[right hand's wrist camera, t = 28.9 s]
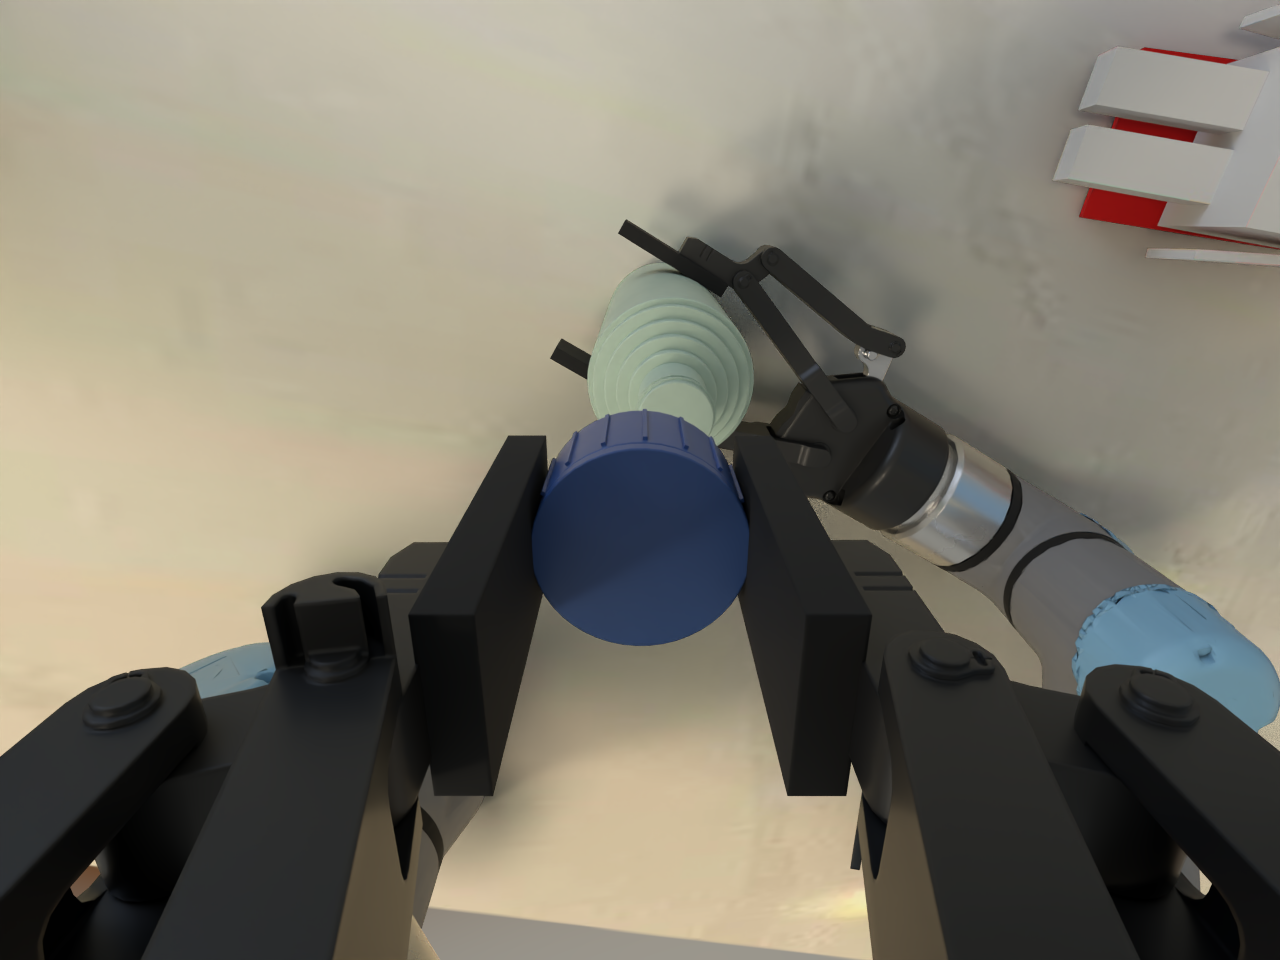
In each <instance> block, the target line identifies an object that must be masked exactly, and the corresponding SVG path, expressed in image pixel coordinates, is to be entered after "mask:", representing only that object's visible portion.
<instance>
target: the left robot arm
mask: <svg viewBox="0 0 1280 960" xmlns="http://www.w3.org/2000/svg"><path fill="white" fill-rule="evenodd" d="M618 234H620V235H622V236H623V237H625V238H626V239H628V240H630V241H631V242H633V243H634V244H636V245H638V246H639V247H641V248H642V249H644V250H646V251H647V252H649V253H651V254H652V255H654V256H655V257H657V258H659V259H660V260H662V261H663V262H665V263H667V264H668V265H670V266H671V267H673V268H675V269H676V270H678V271H680V272H681V273H683V274H684V275H686V276H688V277H689V278H691V279H692V280H694V281H696V282H697V283H699V284H700V285H702V286H704V287H705V288H707V289H709V290H710V291H712V292H713V293H715V294H717V295H718V296H720V297H721V296H722V295H723V293H724V292H725V290H726V288H727V287H728V286H730V287H732V288H733V289H734V291H735V292H736V293H737V295H738V296H739V297H740V299H741V300H742V301H743V303H744V304H745V306H746V307H747V308H748V310H749V311H750V312H751V314H752V315H753V316H754V318H755V319H756V321H757V322H758V323H759V325H760V326H761V327H762V329H763V330H764V331H765V333H766V334H767V336H768V337H769V338H770V340H771V341H772V342H773V344H774V345H775V346H776V348H777V349H778V351H779V352H780V353H781V355H782V356H783V357H784V359H785V360H786V361H787V363H788V364H789V366H790V367H791V369H792V370H793V371H794V373H795V374H796V375H797V377H798V378H799V380H800V381H801V382H802V384H800V383H798V384H797V386H796V387H795V389H794V390H793V392H792V393H791V396H790V399H789V401H788V404H787V406H786V407H785V408H784V409H782V410H781V411H780V412H779V413H778V414H777V415H776V416H775V418H774V419H773V421H772V422H771V424H767V423H761V422H753V423H749V422H743V421H741V423H740V424H739V425H738V427H737V428H736V429H735V431H734V432H733V433H732V434H731V435H730V436H729V437H728V438H727V439H726V440H724V441H723V442H722V443H721V444H719V445H718V446H717V447H718V448H722V449H728V450H734V436H772V437H773V438H774V440H775V442H776V444H777V445H778V447H779V449H780V451H781V453H782V454H783V456H784V458H785V460H786V461H787V463H788V465H789V467H790V469H791V470H792V472H793V474H794V476H795V478H796V479H797V481H798V483H799V485H800V486H801V488H802V490H803V492H804V494H805V495H806V497H807V498H816V499H820V500H822V501H824V502H826V503H827V504H829V505H831V506H833V507H834V508H836V509H838V510H839V511H841V512H843V513H845V514H846V515H848V516H850V517H852V518H853V519H855V520H857V521H859V522H860V523H862V524H864V525H866V526H867V527H869V528H871V529H873V530H880V532H881V533H882V535H883V536H885V537H887V538H888V539H890V540H892V541H894V542H895V543H897V544H899V545H901V546H902V547H904V548H906V549H908V550H910V551H911V552H913V553H915V554H917V555H918V556H920V557H922V558H924V559H926V560H927V561H929V562H931V563H933V564H935V565H936V566H938V567H940V568H942V569H944V570H945V571H947V572H949V573H951V574H952V575H954V576H956V577H957V578H959V579H961V580H962V581H964V582H965V583H967V584H969V585H970V586H972V587H974V588H975V589H977V590H978V591H980V592H981V593H983V594H984V595H985V596H987V597H988V598H989V599H990V600H991V601H992V602H993V603H994V604H995V605H996V606H997V607H998V609H999V610H1000V611H1001V612H1002V613H1003V614H1004V615H1005V617H1006V618H1007V619H1008V620H1009V621H1010V623H1011V624H1012V626H1013V627H1014V628H1015V629H1016V630H1017V632H1018V633H1019V634H1020V635H1021V636H1022V637H1023V639H1024V640H1025V641H1026V642H1027V643H1028V644H1029V646H1030V647H1031V648H1032V649H1033V650H1034V652H1035V653H1036V654H1037V655H1038V657H1039V659H1040V661H1041V665H1042V688H1044V689H1049V690H1054V691H1059V692H1064V693H1069V694H1074V695H1079V696H1080V695H1081V692H1082V688H1083V685H1084V681H1085V678H1086V676H1087V675H1088V674H1089V673H1090V672H1091V671H1093V670H1094V669H1095V668H1096V667H1101V666H1106V665H1112V664H1121V665H1133V666H1143V667H1148V668H1152V670H1155V669H1157V670H1160V671H1163V672H1166V673H1169V674H1171V675H1173V676H1174V677H1176V678H1178V679H1181V680H1183V681H1185V682H1188V683H1190V684H1192V685H1194V686H1196V687H1197V688H1199V689H1200V690H1202V691H1203V692H1205V693H1207V694H1208V695H1210V696H1211V697H1213V698H1214V699H1216V700H1217V701H1218V702H1220V703H1221V704H1222V705H1223V706H1225V707H1226V708H1227V709H1228V710H1230V711H1231V712H1232V713H1233V714H1234V715H1236V716H1237V717H1238V718H1239V719H1241V720H1242V721H1243V722H1244V723H1245V724H1247V725H1248V726H1249V727H1250V728H1252V729H1253V730H1254V731H1255V732H1256V733H1258V730H1259V729H1260V728H1262V727H1264V726H1266V725H1268V724H1270V723H1271V722H1273V721H1274V720H1275V718H1276V716H1277V713H1278V711H1279V707H1280V682H1279V678H1278V675H1277V673H1276V671H1275V668H1274V666H1273V665H1272V663H1271V661H1270V660H1269V659H1268V657H1267V656H1266V655H1265V654H1264V653H1263V652H1262V650H1261V649H1260V648H1258V647H1257V646H1256V645H1255V644H1253V643H1252V642H1251V641H1250V640H1248V639H1247V638H1246V637H1245V636H1243V635H1242V634H1241V633H1240V632H1238V631H1237V630H1236V629H1235V627H1234V626H1233V625H1232V624H1230V623H1229V622H1228V621H1227V620H1225V619H1224V618H1223V617H1222V616H1221V615H1220V614H1219V613H1218V611H1217V610H1216V609H1215V608H1214V607H1213V606H1212V605H1211V604H1209V603H1207V602H1206V601H1204V600H1203V599H1201V598H1200V597H1198V596H1197V595H1195V594H1193V593H1190V592H1187V591H1186V590H1184V589H1183V588H1181V587H1180V586H1178V585H1177V584H1175V583H1174V582H1172V581H1171V580H1170V579H1168V578H1167V577H1165V576H1164V575H1162V574H1161V573H1159V572H1158V571H1157V570H1155V569H1154V568H1152V567H1151V566H1149V565H1148V564H1147V563H1145V562H1144V561H1142V560H1141V559H1139V558H1138V557H1136V556H1135V555H1134V553H1133V552H1132V551H1131V549H1130V548H1129V547H1128V546H1127V545H1126V544H1125V543H1123V542H1122V541H1121V540H1119V539H1118V538H1116V536H1115V535H1114V534H1113V533H1112V532H1111V531H1109V530H1107V529H1106V528H1104V527H1103V526H1101V525H1100V524H1099V523H1098V522H1097V521H1095V520H1094V519H1092V518H1090V517H1088V516H1086V515H1085V514H1082V513H1078V512H1076V511H1075V510H1073V509H1072V508H1070V507H1068V506H1067V505H1065V504H1064V503H1062V502H1060V501H1059V500H1057V499H1055V498H1054V497H1052V496H1050V495H1049V494H1047V493H1045V492H1043V491H1042V490H1040V489H1038V488H1037V487H1035V486H1033V485H1031V484H1030V483H1028V482H1026V481H1025V480H1023V479H1021V478H1019V477H1018V476H1016V475H1014V474H1013V473H1012V472H1011V471H1009V470H1008V469H1006V468H1005V467H1004V466H1002V465H1001V464H999V463H998V462H996V461H994V460H993V459H991V458H990V457H988V456H986V455H985V454H983V453H982V452H980V451H978V450H977V449H975V448H974V447H972V446H970V445H969V444H967V443H966V442H964V441H962V440H961V439H959V438H958V437H956V436H954V435H951V434H946V433H945V431H944V430H943V429H942V428H941V427H940V426H938V425H937V424H935V423H933V422H932V421H930V420H929V419H927V418H925V417H924V416H922V415H921V414H919V413H917V412H916V411H914V410H913V409H911V408H909V407H908V406H906V405H905V404H903V403H901V402H900V401H898V400H897V399H895V398H893V397H892V396H891V395H890V393H889V391H888V389H887V387H886V385H885V384H884V382H883V379H884V377H885V375H886V372H887V370H888V368H889V366H890V364H891V361H892V359H893V358H896V357H899V356H901V355H902V354H903V352H904V351H905V348H906V345H905V342H904V340H903V339H902V338H900V337H898V336H896V335H894V334H892V333H890V332H889V331H887V330H884V329H881V328H878V327H875V326H872V325H869V324H867V323H866V322H864V321H863V320H862V319H861V318H860V317H858V316H857V315H856V314H855V313H854V312H853V311H851V310H850V309H849V308H848V307H847V306H846V305H844V304H843V303H842V302H841V301H840V300H839V299H837V298H836V297H835V296H834V295H833V294H832V293H830V292H829V291H828V290H827V289H826V288H824V287H823V286H822V285H821V284H820V283H819V282H817V281H816V280H815V279H814V278H813V277H812V276H810V275H809V274H808V273H807V272H806V271H805V270H803V269H802V268H801V267H800V266H799V265H798V264H796V263H795V262H794V261H793V260H792V259H790V258H789V257H788V256H787V255H786V254H785V253H783V252H782V251H781V250H780V249H778V248H776V247H773V246H770V245H763V246H761V247H759V248H758V249H757V251H756V252H755V253H754V254H753V255H751V256H750V257H749V258H748V259H746V260H745V261H742V262H734V261H732V260H730V259H729V258H727V257H725V256H724V255H722V254H721V253H719V252H718V251H716V250H714V249H713V248H711V247H710V246H708V245H706V244H705V243H703V242H702V241H700V240H699V239H697V238H693V237H686V239H685V241H684V243H683V244H682V246H681V248H680V249H679V251H676V250H675V249H673V248H671V247H670V246H668V245H667V244H665V243H663V242H662V241H660V240H659V239H657V238H655V237H654V236H652V235H651V234H649V233H647V232H646V231H644V230H643V229H641V228H639V227H638V226H636V225H635V224H633V223H631V222H630V221H628V220H627V219H626V220H625V222H624V224H623V225H622V227H621V229H620V231H619V233H618ZM768 274H770V275H772V276H773V277H774V278H775V279H776V280H778V281H779V282H780V283H781V284H782V285H784V286H785V287H786V288H787V289H788V290H789V291H791V292H792V293H793V294H794V295H795V296H797V297H798V298H799V299H800V300H801V301H803V302H804V303H805V304H806V305H807V306H809V307H810V308H811V309H812V310H813V311H815V312H816V313H817V314H818V315H819V316H820V317H822V318H823V319H824V320H825V321H826V322H828V323H829V324H830V325H831V326H832V327H834V328H835V329H836V330H837V331H838V332H840V333H841V334H842V335H844V336H845V337H846V338H848V339H849V340H851V341H852V342H854V343H855V344H856V345H855V348H854V354H855V356H856V357H857V358H858V359H859V360H861V361H862V363H863V365H864V370H863V373H853V374H842V375H831V376H826V375H825V374H824V372H823V371H822V370H821V368H820V367H819V366H818V365H817V363H816V362H815V361H814V359H813V358H812V356H811V355H810V354H809V352H808V351H807V349H806V348H805V347H804V345H803V344H802V343H801V341H800V340H799V338H798V337H797V336H796V334H795V333H794V331H793V330H792V329H791V327H790V326H789V324H788V323H787V322H786V320H785V319H784V317H783V316H782V315H781V313H780V312H779V311H778V309H777V308H776V306H775V305H774V304H773V302H772V301H771V299H770V298H769V297H768V295H767V294H766V292H765V291H764V290H763V288H762V287H761V285H760V284H759V282H760V281H761V280H762V279H763V278H765V277H766V276H767V275H768ZM590 358H591V355H589V354H588V353H586V352H584V351H582V350H581V349H579V348H577V347H576V346H574V345H572V344H570V343H569V342H567V341H565V340H563V339H561V340H560V342H559V344H558V345H557V347H556V349H555V350H554V352H553V354H552V356H551V358H550V359H552V360H554V361H555V362H557V363H559V364H561V365H562V366H564V367H566V368H568V369H569V370H571V371H573V372H575V373H576V374H578V375H580V376H582V377H583V378H585V379H588V367H589V362H590ZM180 670H185V671H186V672H188V673H189V674H190V675H191V676H192V677H194V678H195V679H196V683H197V686H198V690H199V693H200V697H201V699H202V698H207V697H212V696H217V695H222V694H227V693H232V692H237V691H242V690H247V689H252V688H256V687H260V686H264V685H267V684H269V683H270V681H271V679H272V677H273V674H274V672H275V670H276V669H275V664H274V660H273V656H272V652H271V647H270V643H269V642H267V643H255V644H249V645H245V646H241V647H238V648H233V649H229V650H226V651H223V652H220V653H217V654H214V655H211V656H209V657H206V658H203V659H201V660H198V661H196V662H194V663H191V664H189V665H187V666H184V667H182V668H180ZM418 796H419V802H420V809H421V816H422V823H423V826H422V834H421V843H420V852H419V861H418V869H417V878H416V887H415V896H414V905H413V913H412V922H411V931H410V940H409V948H408V957H407V960H440V959H439V957H438V956H437V954H436V953H435V951H434V949H433V948H432V946H431V944H430V943H429V941H428V939H427V938H426V936H425V934H424V933H423V931H422V925H423V922H424V919H425V916H426V912H427V909H428V906H429V902H430V899H431V896H432V892H433V889H434V886H435V883H436V879H437V876H438V872H439V869H440V866H441V863H442V859H443V857H444V855H445V854H446V853H447V851H448V850H449V849H450V847H451V846H452V845H453V843H454V842H455V841H456V839H457V838H458V837H459V835H460V834H461V832H462V831H463V830H464V828H465V827H466V826H467V824H468V823H469V822H470V820H471V819H472V818H473V816H474V815H475V814H476V812H477V810H478V809H479V807H480V805H481V803H482V801H483V799H484V796H434V791H433V784H432V777H431V771H430V764H429V767H428V770H427V772H426V775H425V778H424V780H423V783H422V786H421V788H420V791H419V794H418ZM1181 872H1182V873H1183V874H1184V875H1185V876H1186V878H1187V879H1188V880H1189V881H1190V882H1191V883H1192V885H1193V886H1195V887H1196V888H1197V889H1198V890H1199V891H1200V874H1199V868H1198V867H1197V866H1196V865H1195V864H1194V863H1193V862H1192V860H1191V859H1190V858H1189V857H1188V856H1187V858H1186V860H1185V863H1184V865H1183V868H1182V870H1181Z"/></svg>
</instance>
